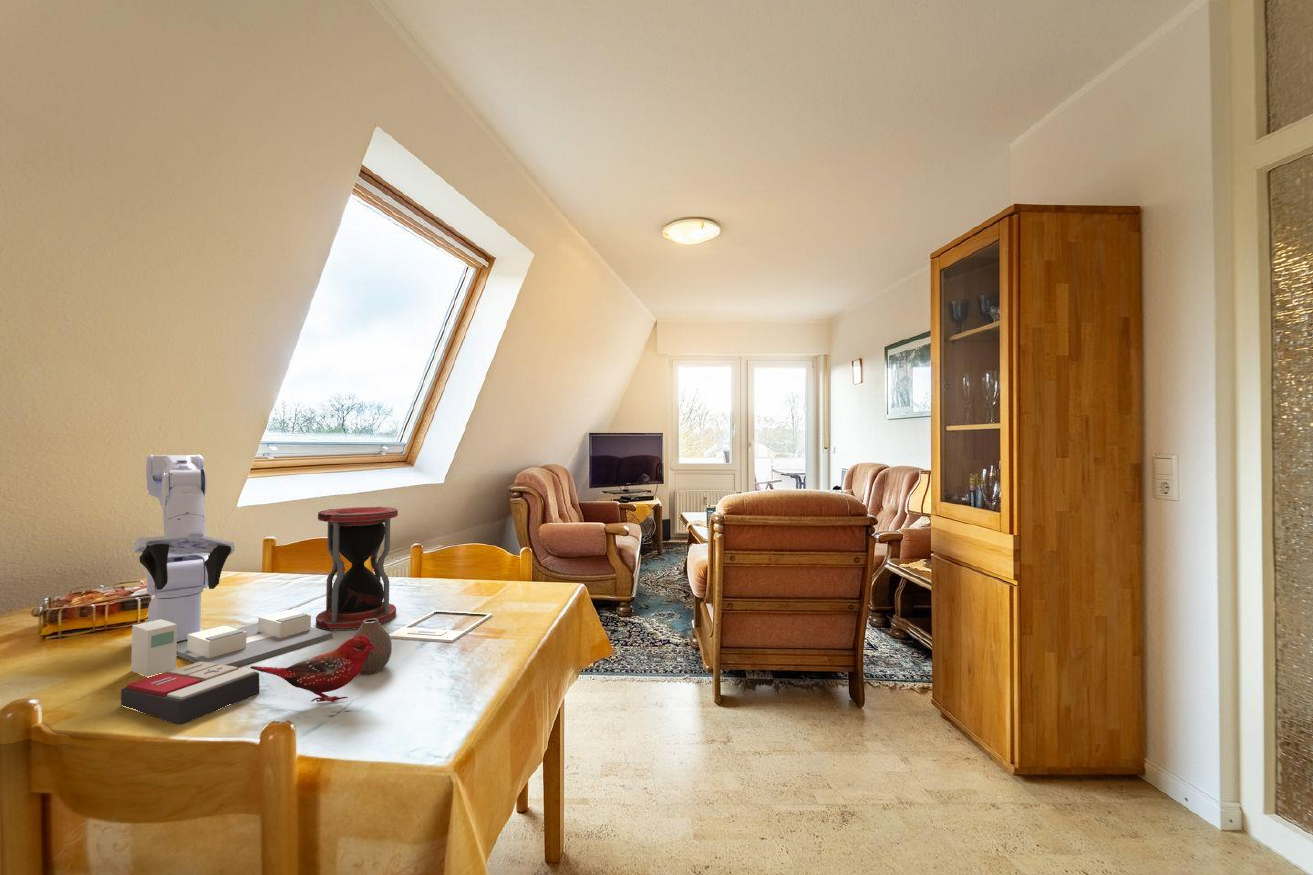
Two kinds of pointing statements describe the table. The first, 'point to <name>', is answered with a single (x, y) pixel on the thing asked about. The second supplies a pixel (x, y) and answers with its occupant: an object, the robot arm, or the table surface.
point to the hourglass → (357, 567)
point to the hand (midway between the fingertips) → (188, 586)
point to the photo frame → (433, 630)
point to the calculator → (190, 691)
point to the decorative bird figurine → (327, 668)
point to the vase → (380, 640)
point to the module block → (154, 647)
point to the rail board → (252, 640)
